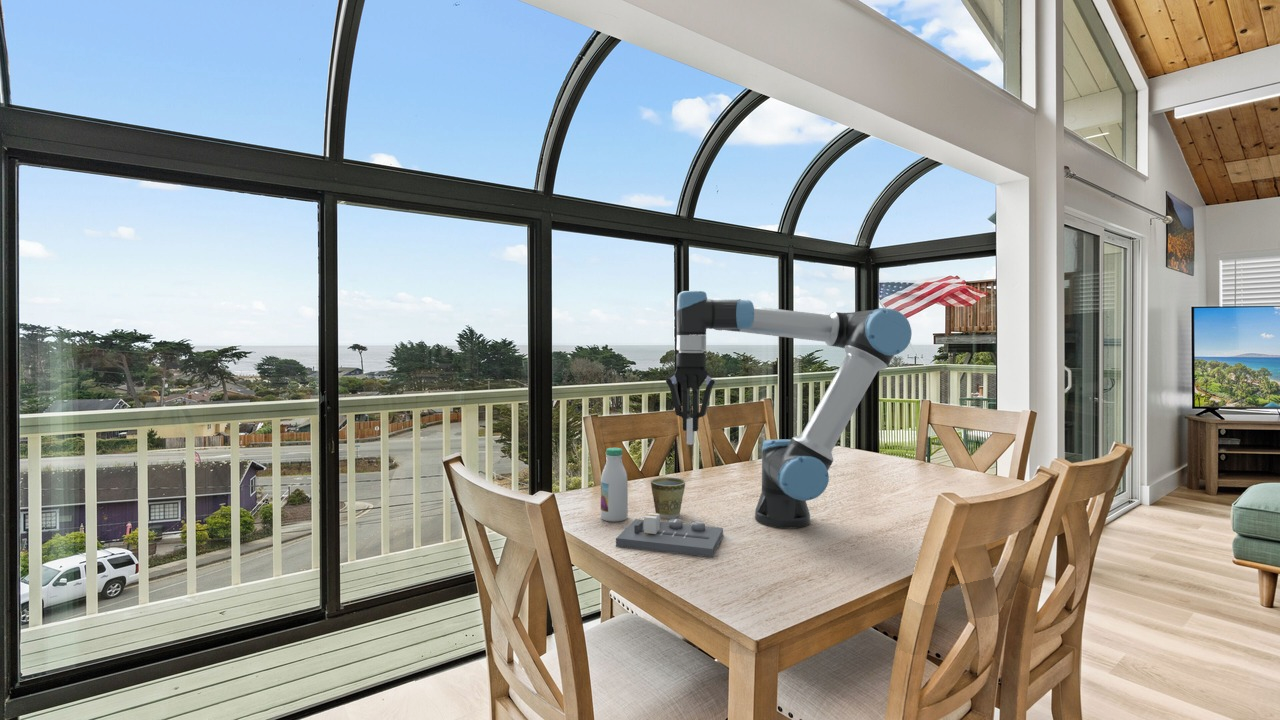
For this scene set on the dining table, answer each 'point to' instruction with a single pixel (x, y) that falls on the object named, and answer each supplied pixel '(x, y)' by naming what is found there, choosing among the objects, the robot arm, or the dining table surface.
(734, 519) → the dining table surface
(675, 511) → the ceramic cup
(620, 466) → the milk bottle
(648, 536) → the console
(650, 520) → the fader cap
